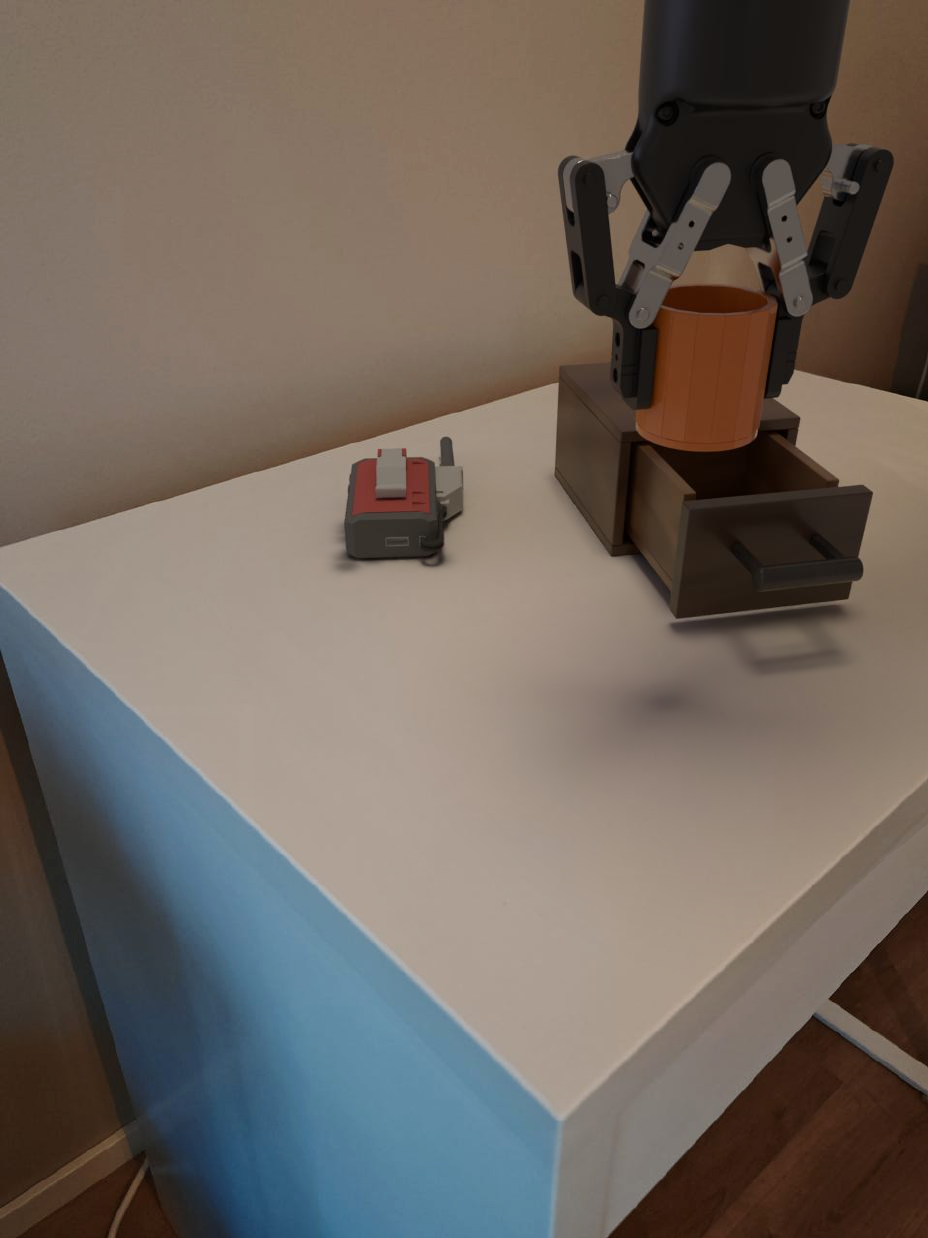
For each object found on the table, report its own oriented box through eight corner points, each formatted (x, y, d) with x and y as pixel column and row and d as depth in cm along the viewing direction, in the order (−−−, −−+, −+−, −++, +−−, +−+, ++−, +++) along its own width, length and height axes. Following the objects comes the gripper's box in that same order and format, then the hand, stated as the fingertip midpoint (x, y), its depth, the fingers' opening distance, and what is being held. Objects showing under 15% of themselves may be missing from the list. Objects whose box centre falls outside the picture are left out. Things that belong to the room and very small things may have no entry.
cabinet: (779, 539, 69) (801, 417, 64) (611, 556, 67) (621, 431, 62) (698, 462, 81) (712, 354, 77) (554, 474, 79) (559, 365, 75)
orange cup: (726, 404, 48) (742, 279, 45) (778, 445, 43) (801, 309, 40) (619, 413, 47) (627, 287, 44) (661, 457, 43) (674, 319, 39)
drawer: (889, 638, 56) (919, 525, 52) (705, 660, 54) (723, 545, 51) (752, 509, 71) (768, 414, 68) (605, 523, 70) (612, 426, 66)
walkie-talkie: (470, 565, 66) (458, 454, 83) (470, 506, 64) (458, 405, 81) (342, 568, 66) (356, 457, 83) (337, 510, 64) (353, 407, 81)
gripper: (595, -47, 31) (573, 443, 40) (990, -52, 34) (887, 413, 43) (535, -36, 38) (528, 386, 47) (871, -41, 40) (803, 362, 49)
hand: (699, 397), depth 45 cm, fingers closed on orange cup, 5 cm apart
